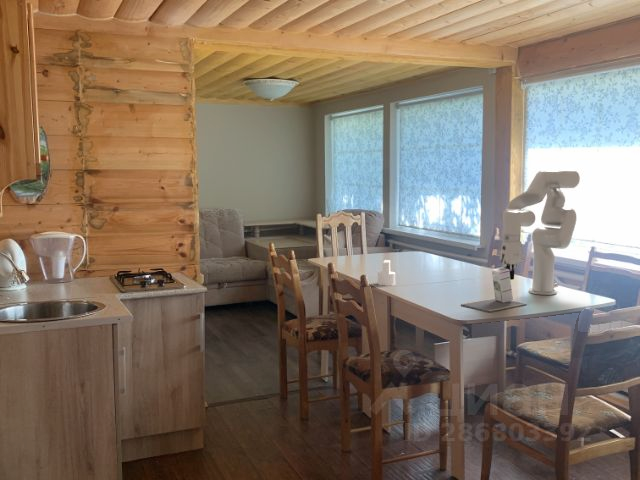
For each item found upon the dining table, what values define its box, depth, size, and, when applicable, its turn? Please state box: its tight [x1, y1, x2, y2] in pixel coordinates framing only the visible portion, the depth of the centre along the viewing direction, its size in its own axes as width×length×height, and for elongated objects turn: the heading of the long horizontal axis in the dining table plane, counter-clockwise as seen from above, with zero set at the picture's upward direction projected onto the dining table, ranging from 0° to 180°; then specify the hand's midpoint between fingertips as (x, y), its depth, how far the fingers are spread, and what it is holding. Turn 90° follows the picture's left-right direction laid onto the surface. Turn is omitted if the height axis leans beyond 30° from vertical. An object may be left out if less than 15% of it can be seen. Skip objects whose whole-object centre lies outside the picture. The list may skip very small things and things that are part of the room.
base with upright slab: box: [377, 259, 396, 287], centre depth 329 cm, size 9×9×12 cm
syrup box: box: [491, 266, 514, 303], centre depth 284 cm, size 6×6×14 cm
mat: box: [460, 297, 527, 313], centre depth 280 cm, size 24×16×1 cm, turn 125°
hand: (509, 279), depth 286 cm, fingers closed
